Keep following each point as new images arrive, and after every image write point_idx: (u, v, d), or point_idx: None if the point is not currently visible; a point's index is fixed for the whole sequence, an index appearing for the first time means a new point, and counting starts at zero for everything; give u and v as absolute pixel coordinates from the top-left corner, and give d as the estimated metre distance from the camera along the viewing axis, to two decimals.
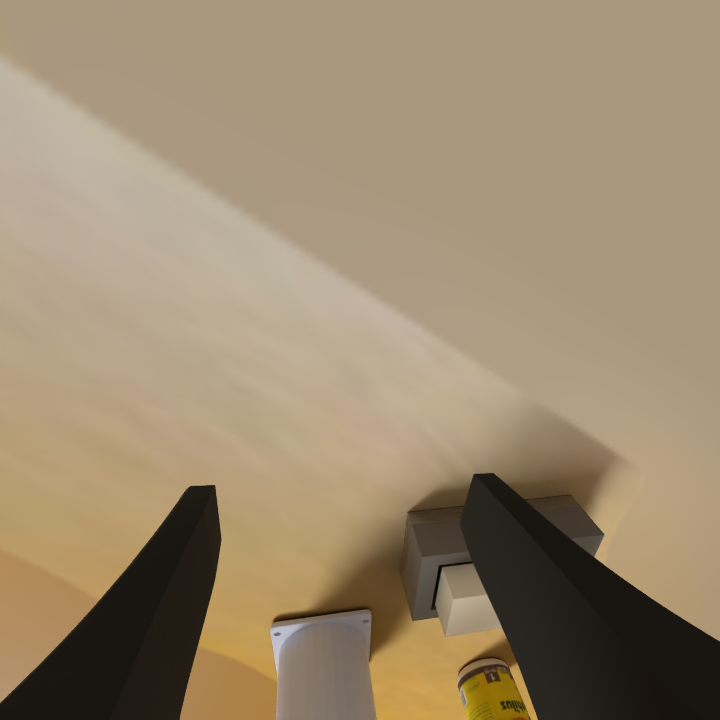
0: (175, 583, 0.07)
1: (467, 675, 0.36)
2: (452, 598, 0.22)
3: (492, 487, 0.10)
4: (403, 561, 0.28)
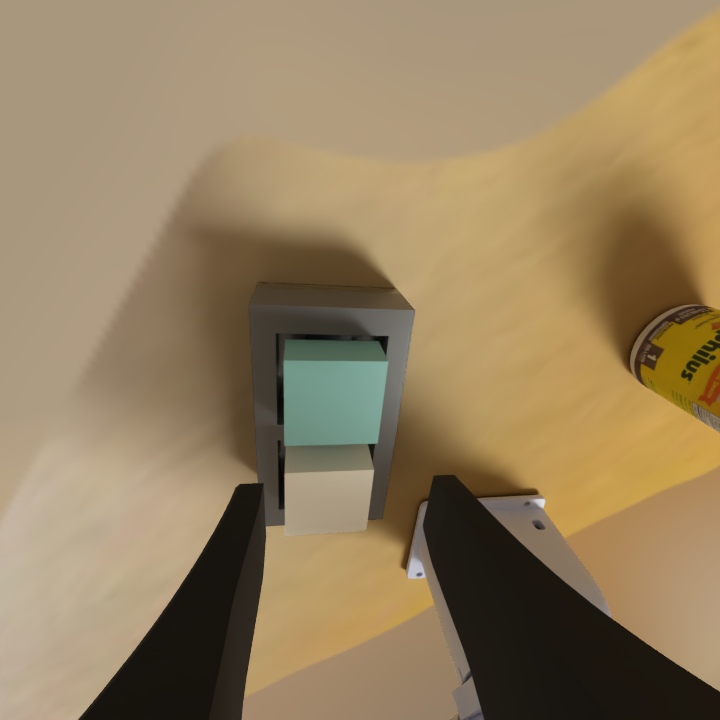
0: (242, 577, 0.07)
1: (640, 381, 0.23)
2: None
3: (449, 489, 0.10)
4: None
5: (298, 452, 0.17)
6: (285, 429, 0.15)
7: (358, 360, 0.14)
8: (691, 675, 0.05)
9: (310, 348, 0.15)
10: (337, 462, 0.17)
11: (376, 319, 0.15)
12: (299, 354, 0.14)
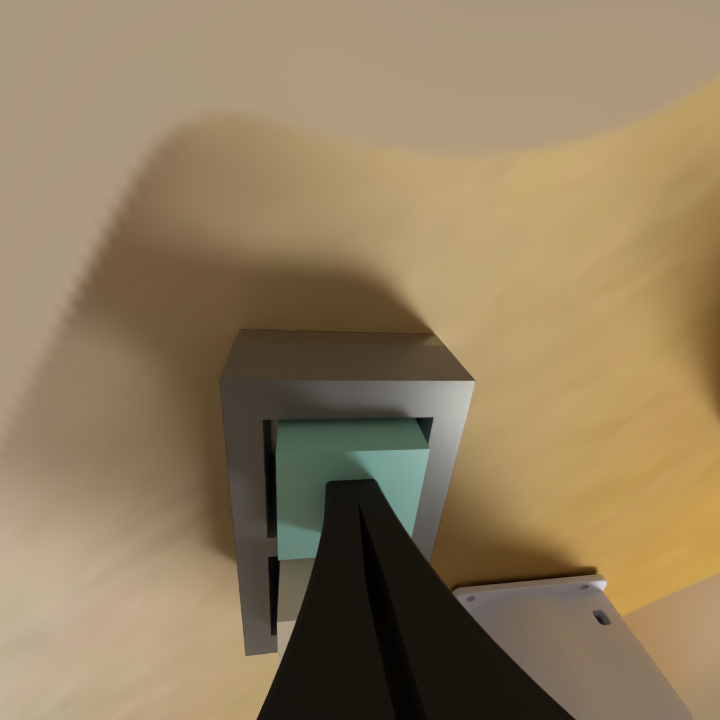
0: None
1: None
2: None
3: (362, 494, 0.09)
4: None
5: (298, 576, 0.12)
6: (279, 540, 0.10)
7: (386, 447, 0.10)
8: (551, 697, 0.05)
9: (315, 425, 0.10)
10: None
11: (416, 395, 0.10)
12: (299, 438, 0.10)
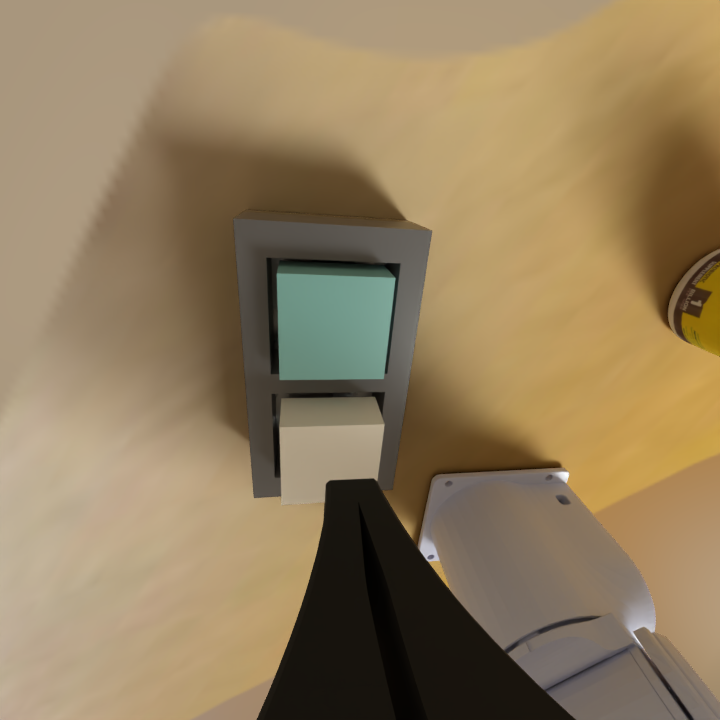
0: None
1: (679, 334, 0.20)
2: None
3: (362, 494, 0.09)
4: None
5: (295, 406, 0.15)
6: (280, 359, 0.13)
7: (362, 275, 0.13)
8: (551, 697, 0.05)
9: (307, 266, 0.13)
10: (341, 416, 0.14)
11: (386, 241, 0.13)
12: (294, 270, 0.13)
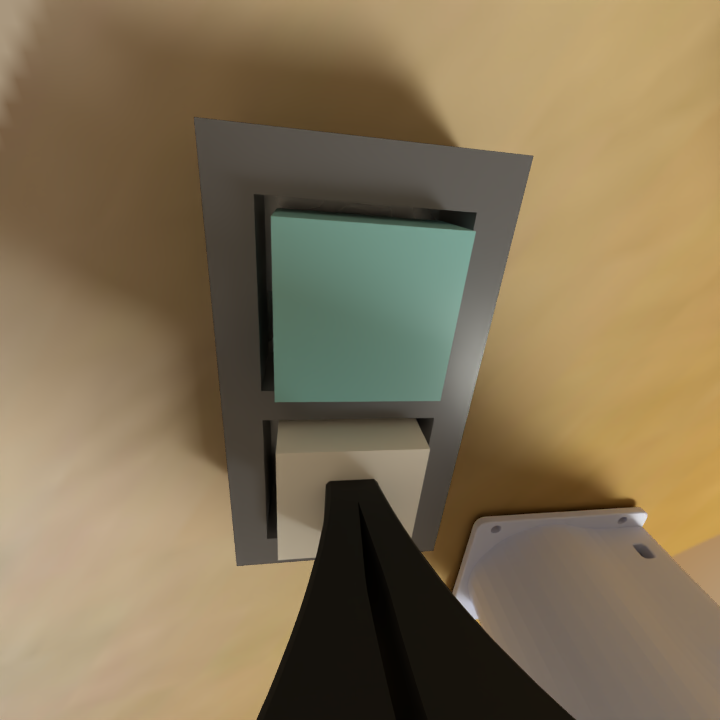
0: None
1: None
2: None
3: (362, 494, 0.09)
4: None
5: (300, 421, 0.10)
6: (276, 369, 0.08)
7: (419, 226, 0.07)
8: (551, 697, 0.05)
9: (323, 214, 0.08)
10: (366, 436, 0.10)
11: (456, 172, 0.08)
12: (302, 215, 0.07)
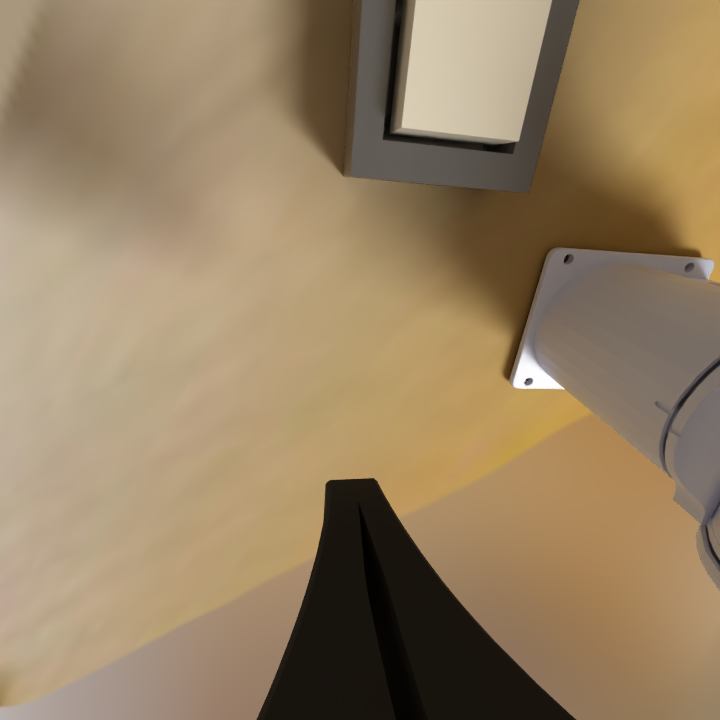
0: None
1: None
2: (405, 128, 0.12)
3: (362, 494, 0.09)
4: (452, 186, 0.16)
5: None
6: None
7: None
8: (550, 697, 0.05)
9: None
10: None
11: None
12: None
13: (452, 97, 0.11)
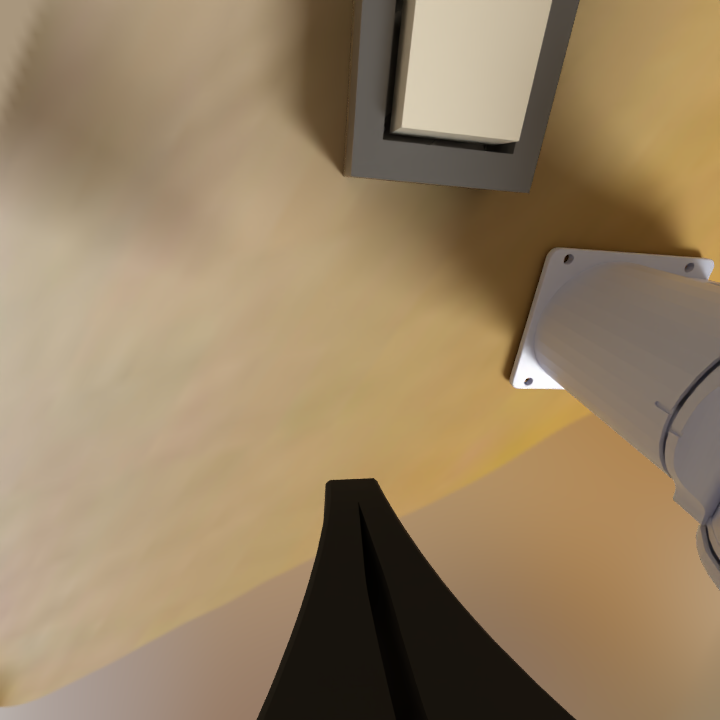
0: None
1: None
2: (405, 128, 0.12)
3: (362, 494, 0.09)
4: (453, 186, 0.16)
5: None
6: None
7: None
8: (551, 697, 0.05)
9: None
10: None
11: None
12: None
13: (452, 97, 0.11)
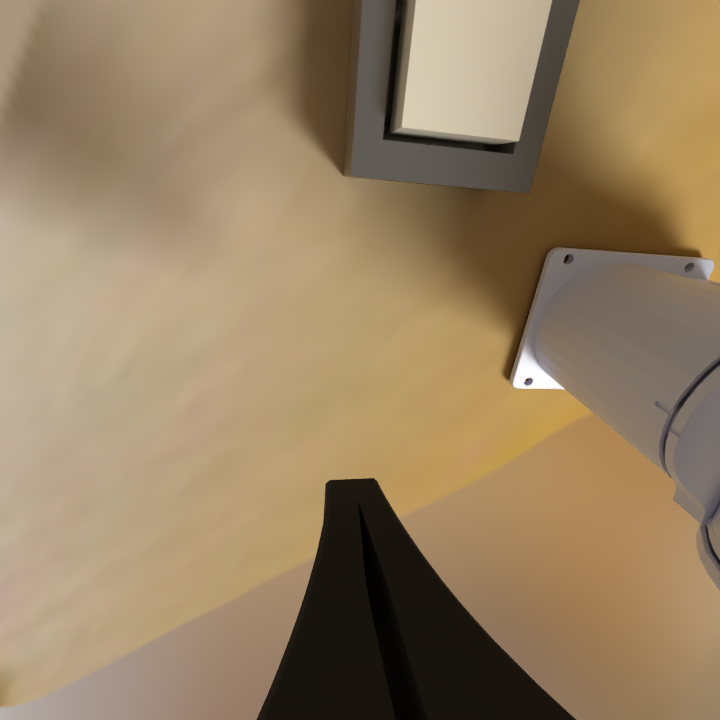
0: None
1: None
2: (405, 128, 0.12)
3: (362, 494, 0.09)
4: (453, 186, 0.16)
5: None
6: None
7: None
8: (551, 697, 0.05)
9: None
10: None
11: None
12: None
13: (452, 97, 0.11)
